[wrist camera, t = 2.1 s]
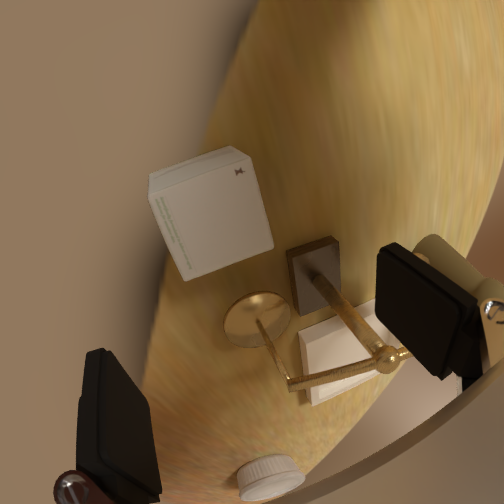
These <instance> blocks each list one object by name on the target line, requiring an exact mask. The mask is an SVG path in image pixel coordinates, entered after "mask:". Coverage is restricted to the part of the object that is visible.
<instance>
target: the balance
mask: <svg viewBox="0 0 504 504" xmlns="http://www.w3.org/2000/svg"><path fill="white" fill-rule="evenodd" d="M286 253H287V260H288V266H289V273H290V279H291V286H292V293H293V300H294V307H295V310H296V311H297V313H298V314H299V315H300V317H301V316H303V315H306V314H308V313H311V312H313V311H316V310H318V309H321V308H323V307H326V306H328V305H330V306H331V308H332V309H333V310H334V311H335V313H336V314H337V315H338V316H339V317H340V319H341V320H342V321H343V322H344V323H345V325H346V326H347V327H348V328H349V330H350V331H351V332H352V333H353V334H354V336H355V337H356V338H357V339H358V341H359V342H360V343H361V344H362V346H363V347H364V348H365V349H366V351H367V352H368V353H369V354H370V355H371V358H368V359H365V360H361V361H358V362H355V363H351V364H348V365H344V366H340V367H337V368H333V369H329V370H325V371H322V372H318V373H313V374H309V375H305V376H301V377H297V378H292V379H291V378H290V376H289V374H288V372H287V371H286V369H285V367H284V365H283V363H282V361H281V359H280V357H279V355H278V353H277V352H276V350H275V348H274V346H273V344H272V341H274V340H275V339H276V338H278V337H279V336H280V335H281V334H282V333H283V332H284V331H285V329H286V328H287V326H288V324H289V321H290V317H291V311H290V307H289V305H288V304H287V302H286V301H285V299H284V298H283V297H282V296H280V295H279V294H277V293H274V292H270V291H258V292H253V293H250V294H248V295H245V296H243V297H241V298H240V299H238V300H237V301H236V302H235V303H234V304H233V305H232V306H231V307H230V308H229V309H228V311H227V313H226V315H225V317H224V321H223V328H224V331H225V334H226V336H227V338H228V340H229V341H230V342H231V343H233V344H234V345H236V346H239V347H243V348H255V347H260V346H263V345H267V347H268V349H269V351H270V353H271V355H272V357H273V359H274V361H275V363H276V365H277V367H278V369H279V371H280V373H281V375H282V377H283V379H284V381H285V383H286V385H287V387H288V390H289V392H294V391H298V390H302V389H307V388H311V387H315V386H319V385H323V384H327V383H331V382H334V381H338V380H342V379H345V378H349V377H352V376H356V375H359V374H362V373H366V372H369V371H372V370H376V371H378V372H380V373H383V374H389V373H391V372H393V371H394V370H395V369H396V368H397V367H398V365H399V364H400V361H402V360H405V359H407V358H410V357H413V355H412V354H411V353H410V352H409V350H408V349H407V348H406V347H402V348H399V349H396V348H395V347H394V346H391V345H386V344H385V342H384V341H383V340H382V339H381V338H380V337H379V336H378V334H377V333H376V332H375V331H374V330H373V329H372V328H371V327H370V325H369V324H368V323H367V322H366V321H365V320H364V319H363V318H362V317H361V315H360V314H359V313H358V312H357V311H356V310H355V309H354V308H353V307H352V305H351V304H350V303H349V302H348V301H347V300H346V299H345V298H344V297H343V296H342V294H341V279H340V253H339V241H337V240H336V239H335V238H334V237H333V236H328V237H325V238H322V239H319V240H317V241H314V242H311V243H308V244H305V245H302V246H299V247H296V248H293V249H290V250H287V251H286ZM413 254H415V255H416V256H418V257H419V258H420V259H422V260H423V261H425V262H426V263H428V264H429V265H430V261H429V259H428V258H427V257H425V256H424V255H422V254H420V253H413Z"/></svg>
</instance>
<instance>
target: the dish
mask: <svg viewBox="0 0 504 504" xmlns="http://www.w3.org/2000/svg"><path fill="white" fill-rule="evenodd" d="M354 309H355V310H356V311H357V312H358V313H359V314H360V315H361V317H362V318H363V319H364V320H365V321H366V322H367V323H368V324H369V325H370V327H371V328H372V329H373V330H374V331H375V332H376V333H377V334H378V336H379V337H380V338H381V339H382V340H383V341H384V342H385V344H386V345H391V346H394V347H395V348H396V349H399V344H400V341H399V340H398V339H397V338H396V337H395V336H394V335H393V334H392V333H391V332H390V331H389V330H388V329H387V328H386V327H385V326H384V325H383V324H382V323H381V322H380V321H379V320H378V319H377V317H376V315H375V298H374V299H372V300H370V301H368V302H366V303H363V304H361V305H359V306H357V307H355V308H354ZM298 335H299V343H300V350H301V358H302V366H303V374H304V376H305V375H309V374H313V373H318V372H322V371H325V370H329V369H333V368H337V367H340V366H344V365H348V364H351V363H355V362H358V361H361V360H365V359H368V358H371V355H370V354H369V353H368V352H367V351H366V349H365V348H364V347H363V346H362V344H361V343H360V342H359V341H358V339H357V338H356V337H355V336H354V334H353V333H352V332H351V331H350V330H349V328H348V327H347V326H346V325H345V323H344V322H343V321H342V320H341V319H340V317H339V316H338V315H337V316H334V317H332V318H330V319H327V320H325V321H322V322H320V323H318V324H315V325H313V326H310V327H308V328H306V329H303V330H301V331H298ZM378 374H380V372H378V371H376V370H372V371H369V372H366V373H362V374H359V375H356V376H352V377H349V378H345V379H342V380H338V381H334V382H331V383H327V384H323V385H319V386H315V387H311V388H307V389H305V390H306V397H307V398H308V400H309V402H310V404H311V406H312V407H313V406H315V405H317V404H320V403H322V402H324V401H326V400H328V399H331V398H333V397H335V396H337V395H339V394H341V393H343V392H345V391H347V390H349V389H351V388H353V387H355V386H357V385H359V384H361V383H363V382H365V381H367V380H369V379H371V378H373V377H375V376H376V375H378Z"/></svg>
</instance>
